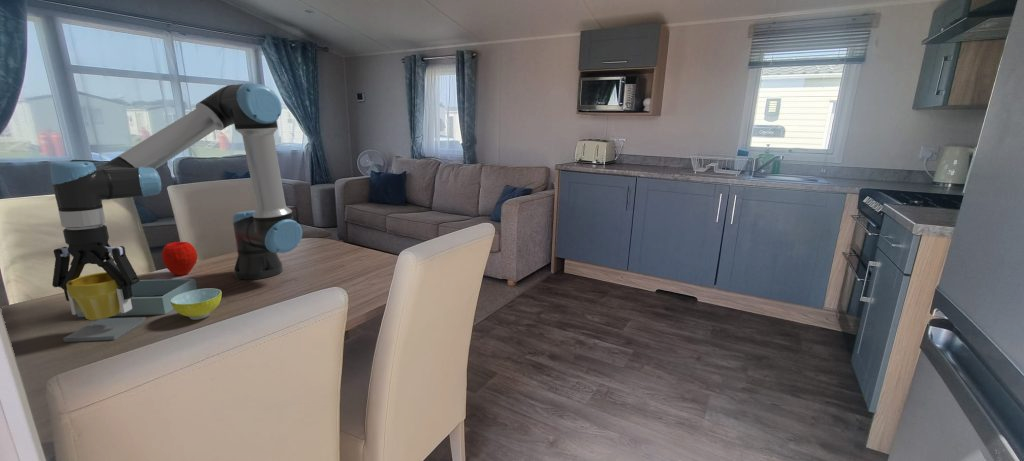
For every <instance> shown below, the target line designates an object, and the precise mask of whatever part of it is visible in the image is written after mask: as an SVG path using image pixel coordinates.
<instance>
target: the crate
mask: <svg viewBox="0 0 1024 461" xmlns="http://www.w3.org/2000/svg"><path fill="white" fill-rule="evenodd" d="M196 281H197V280H196V278H178V279H177V278H173V279H172V278H171V279H168V278H167V279H166V278H165V279H139V282H137V283H135V284H133V285H131V288H132V293H133V297H132V298H130V299H131V304H132V309H131V310H129V311H127V312H125V313H121V312H120V313H118V314H116V315H114V316H113V317H120V316H121V317H123V316H124V317H127V316H153V315H166V314H168V313H170V312H172V310H175V309H174V308H173V307H172V305H171V299H172V298H173V297H175V296H177V295H179V294H182V293H185V292H188V291H192V290H198V288H197V282H196ZM154 295H163V296H154ZM76 315H77V317H78V318H85V316H84V314H83V313H82V312H80V313H78V314H76Z"/></svg>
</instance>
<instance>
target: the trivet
mask: <svg viewBox="0 0 1024 461" xmlns="http://www.w3.org/2000/svg"><path fill="white" fill-rule="evenodd" d="M146 321H147V317H146V316H141V317H140V316H138V317H114V318H112V317H108V318H104V319H98V320H95V321H93V322H91V323H90V324H87V325H86V326H84V327H81V328H79V329H78V330H75V331H74V332H72V333H70V334H68V335H66V336H64V337H63V338H62V339H63V343H74V342H75V343H76V342H99V341H100V342H101V341H115V340H117V339H119V338H120V337H122V336H123V335H125V334H127V333H129V332H130V331H132V330H134V328H137V327H138V326H140V325H142V324H143V323H145V322H146Z"/></svg>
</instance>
